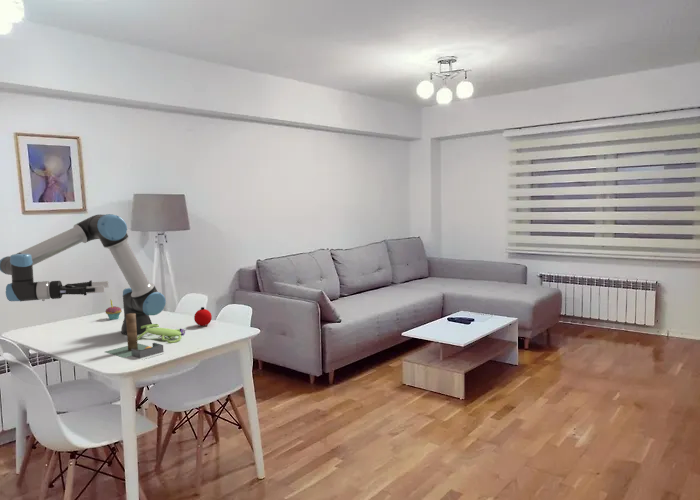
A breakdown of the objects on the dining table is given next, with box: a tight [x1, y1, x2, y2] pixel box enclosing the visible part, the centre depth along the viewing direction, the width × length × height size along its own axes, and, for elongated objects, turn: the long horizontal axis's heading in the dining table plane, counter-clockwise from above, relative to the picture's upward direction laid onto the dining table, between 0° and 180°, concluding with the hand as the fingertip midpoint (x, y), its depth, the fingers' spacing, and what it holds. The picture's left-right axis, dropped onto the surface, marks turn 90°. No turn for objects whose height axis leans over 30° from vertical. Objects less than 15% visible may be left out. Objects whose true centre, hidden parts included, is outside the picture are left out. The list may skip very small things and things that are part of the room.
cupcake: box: [105, 299, 122, 321], centre depth 291 cm, size 9×8×12 cm
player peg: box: [126, 313, 139, 351], centre depth 224 cm, size 4×4×16 cm
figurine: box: [137, 323, 186, 344], centre depth 248 cm, size 18×27×6 cm
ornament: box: [193, 306, 213, 327], centre depth 270 cm, size 9×9×10 cm
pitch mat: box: [104, 342, 149, 359], centre depth 224 cm, size 16×16×1 cm
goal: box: [131, 342, 164, 359], centre depth 218 cm, size 6×11×4 cm, turn 144°
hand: (106, 286), depth 219 cm, fingers open, 13 cm apart
